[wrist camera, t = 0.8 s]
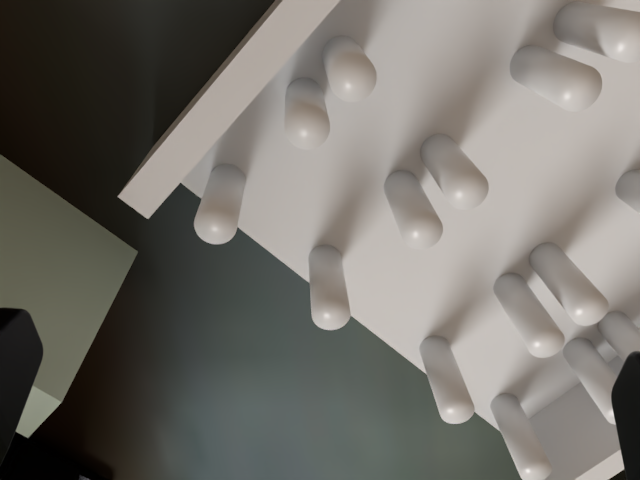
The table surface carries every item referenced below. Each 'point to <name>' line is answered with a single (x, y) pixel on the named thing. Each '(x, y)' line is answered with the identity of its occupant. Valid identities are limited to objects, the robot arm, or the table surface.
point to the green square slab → (55, 280)
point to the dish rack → (442, 195)
